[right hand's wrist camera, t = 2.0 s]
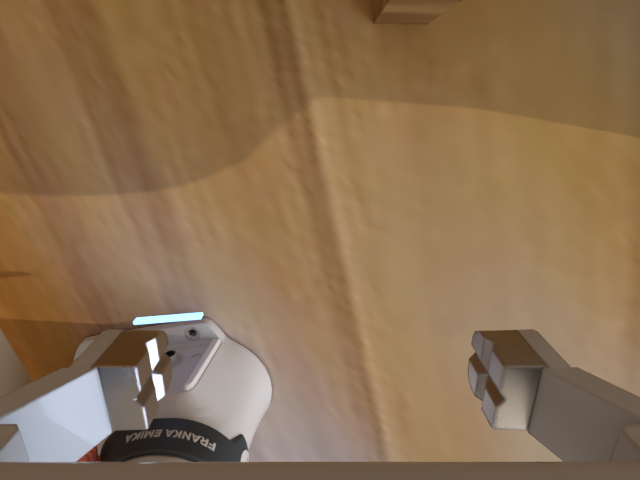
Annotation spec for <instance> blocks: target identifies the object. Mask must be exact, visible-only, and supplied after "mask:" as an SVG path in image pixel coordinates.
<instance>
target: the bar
mask: <svg viewBox="0 0 640 480" xmlns="http://www.w3.org/2000/svg"><path fill="white" fill-rule="evenodd" d="M460 1H462V0H374V20H373V23H374V24H428V23H430V22H431V21H432V20H434V19H435V18H437V17H438V16H440V15H441V14H443V13H444V12H446V11H447V10H448V9H450V8H451V7H453V6H454V5H456V4H457V3H459V2H460Z"/></svg>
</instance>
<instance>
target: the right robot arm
mask: <svg viewBox="0 0 640 480" xmlns="http://www.w3.org/2000/svg"><path fill="white" fill-rule="evenodd" d="M202 316H203V312H199V313H187V314H175V315H163V316H151V317H139V318H136V319H135V320H134V321H133V324H134V325H138V324H150V323H162V322H173V323H167V324H161V325H155V326H149V327H143V328H137V329H131V330H124V329H122V330H105V331H103V332H102V333H101V334H100V335H95V336H90V337H86V338H84V339H83V341H82V342H81V343H80V345H79V347H78V348H77V351H76V353H75V357H74V362H73V364H72V365H71V366H70V367H67V368H60V369H58V370H56V371H54V372H52V373H50V374H48V375H46V376H44V377H41V378H39V379H37V380H35V381H33V382H31V383H29V384H27V385H25V386H23V387H20V388H18V389H16V390H14V391H12V392H10V393H8V394H6V395H4V396H1V397H0V480H640V397H638V396H636V395H634V394H632V393H630V392H628V391H626V390H624V389H622V388H619V387H617V386H615V385H613V384H611V383H609V382H607V381H605V380H603V379H601V378H598V377H596V376H594V375H592V374H590V373H588V372H586V371H584V370H582V369H580V368H573V367H570V366H569V365H568V364H567V362H566V361H565V360H564V359H563V358H562V357H561V356H560V355H559V354H558V353H557V352H556V351H555V350H554V349H553V347H552V346H551V345H550V344H549V343H548V342H547V341H546V340H545V339H544V338H543V337H542V336H541V335H540V334H539V332H538V331H535V330H533V329H527V330H500V331H475V332H474V335H473V337H472V343H471V345H472V347H473V348H474V350H475V353H474V354H473V355H472V356H471V357H470V358H469V363H468V378H469V383H470V387H471V389H472V391H473V393H474V395H475V396H476V397H477V398H479V399H480V400H482V401H483V402H482V408H481V409H482V411H483V413H484V415H485V417H486V418H487V420H488V422H489V424H490V426H491V428H492V430H526V431H528V433H529V434H531V435H532V436H533V437H534V438H536V439H537V440H538V441H539V442H540V443H542V444H543V445H544V446H545V447H547V448H548V449H549V450H550V451H551V452H553V453H554V454H555V455H556V456H558V457H559V458H560V459H561V460H563V461H564V462H249V454H248V450H249V447H250V444H251V441H252V439H253V436H254V433H255V431H256V429H257V426H258V424H259V422H260V420H261V419H262V417H263V415H264V414H265V412H266V411H267V409H268V407H269V404H270V401H271V395H272V387H271V381H270V378H269V375H268V373H267V371H266V369H265V367H264V366H263V364H262V363H261V361H260V360H259V359H258V358H257V357H256V356H255V355H254V354H253V353H252V352H250V351H249V350H248V349H246V348H245V347H243V346H242V345H240V344H238V343H236V342H234V341H233V340H231V339H229V338H228V337H227V336H226V335H225V334H224V333H223V332H222V331H221V329H220V328H219V327H218V326H217V325H216V324H215V323H214V322H213V321H211V320H210V319H208V318H202ZM174 321H179V322H174ZM191 330H195V331H196V333H194V332H192V331H191Z"/></svg>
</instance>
